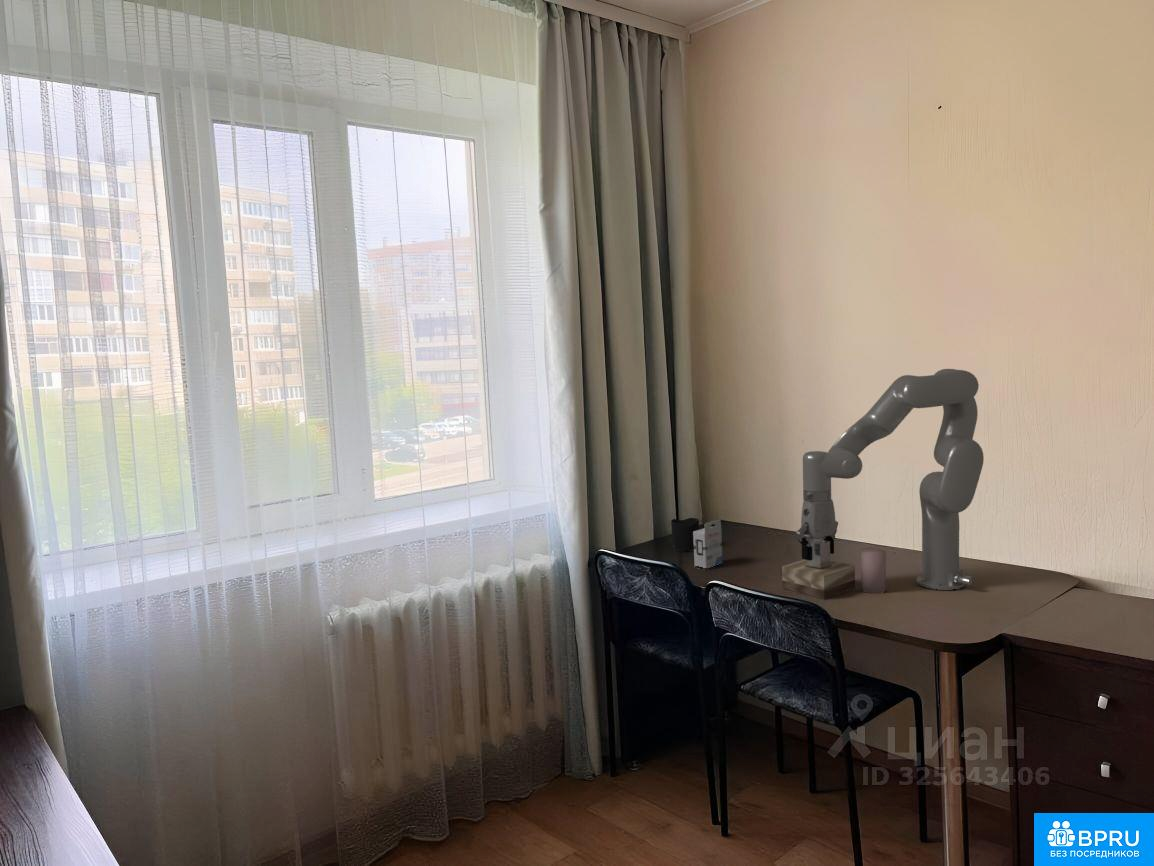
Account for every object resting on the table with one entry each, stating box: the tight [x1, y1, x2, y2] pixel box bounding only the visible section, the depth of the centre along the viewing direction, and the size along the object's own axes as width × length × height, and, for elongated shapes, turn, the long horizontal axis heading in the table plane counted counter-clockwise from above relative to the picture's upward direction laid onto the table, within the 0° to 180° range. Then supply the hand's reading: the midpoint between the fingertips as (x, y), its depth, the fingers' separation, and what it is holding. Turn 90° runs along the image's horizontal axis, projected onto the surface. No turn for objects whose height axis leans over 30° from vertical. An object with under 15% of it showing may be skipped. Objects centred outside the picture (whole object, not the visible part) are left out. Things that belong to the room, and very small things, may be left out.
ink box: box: [693, 518, 723, 568], centre depth 265 cm, size 8×5×15 cm, turn 133°
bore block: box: [781, 559, 856, 600], centre depth 237 cm, size 14×14×6 cm
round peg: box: [860, 547, 887, 594], centre depth 233 cm, size 6×6×11 cm
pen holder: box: [670, 517, 700, 551], centre depth 287 cm, size 9×9×10 cm
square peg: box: [807, 538, 831, 570], centre depth 237 cm, size 4×4×11 cm
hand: (818, 556), depth 237 cm, fingers open, 9 cm apart
